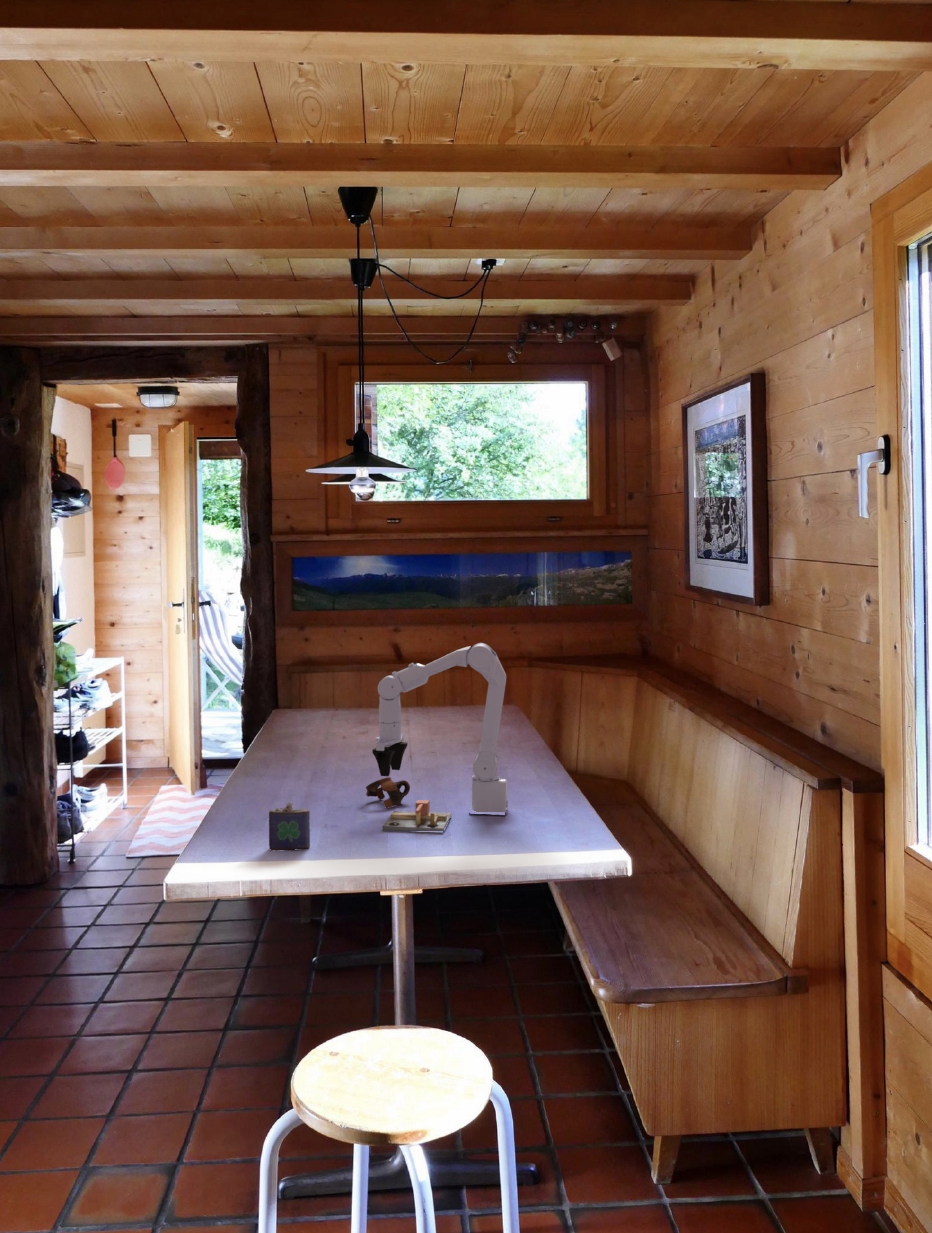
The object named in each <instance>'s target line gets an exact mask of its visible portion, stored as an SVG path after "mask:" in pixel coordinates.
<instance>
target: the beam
mask: <svg viewBox="0 0 932 1233" xmlns="http://www.w3.org/2000/svg"><path fill="white" fill-rule="evenodd" d="M435 813H436V812H435ZM435 813H430V814H428V815H420V819H424V820H430V825H431V826H434V825H435V824H436V823H437V821H438V820H446V819H447V814H435ZM390 816H391V818H397V819H416V814H415V813H394V811H393V812H391V813H390Z"/></svg>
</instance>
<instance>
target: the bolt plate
mask: <svg viewBox="0 0 932 1233" xmlns="http://www.w3.org/2000/svg"><path fill="white" fill-rule="evenodd" d="M393 812H394V813H415V811H405V810H402V811H401V810H394V811H393ZM430 813H435V814H447V819H446V820H438V821H437V823H436V824H435V825H434V826H431V825H430V820H424V819H420V824H416V819H397V818H391V815H390V816H389V817H388V818H387V820H386V821H385V822H384V824H382V832H399V831H444V828H445V827H446V825H447V823H448V821H449V819H450V817H451V815H452V816H453V814H452V812H435V811H434V812H431V811H430V812H429V814H430ZM447 826H448V825H447ZM446 828H447V827H446ZM444 832H445V831H444Z"/></svg>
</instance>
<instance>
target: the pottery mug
mask: <svg viewBox="0 0 932 1233" xmlns="http://www.w3.org/2000/svg"><path fill="white" fill-rule="evenodd" d="M402 787H404V790H403V792H402V791H401V788H402ZM365 789H366V794H365V795H366V796H367V797H377V799H378V800H380V799H382V803H383V805H384V808H385V807H386V808H387V809H389V808H388V807H390V808H393V807H395V806H401V805H402V802H403V799H404V798H405V797H406V796H407V795H408V794H409V793H410V790H411V785H410V783H409V782H408V781H407V780H405V779H403V780H399V781H393V780H392V777H390V776H386V777H384V778H381V779H378V780H376V781H375V780H374V781H373V782H371V783H369V784H367V786H365ZM384 792H386V794H388V798H386V795H385V794H384ZM385 798H386V799H385ZM383 799H385V800H383ZM392 806H393V807H392ZM386 808H385V809H386Z"/></svg>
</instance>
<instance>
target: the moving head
mask: <svg viewBox="0 0 932 1233" xmlns="http://www.w3.org/2000/svg"><path fill="white" fill-rule="evenodd" d="M430 801H431V800H430V799H417V800H416V801H415V811H414V812H415V814H416V824H420V815H428V814H429V812H431V811H430V805H431V804H430V803H431V802H430Z"/></svg>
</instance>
